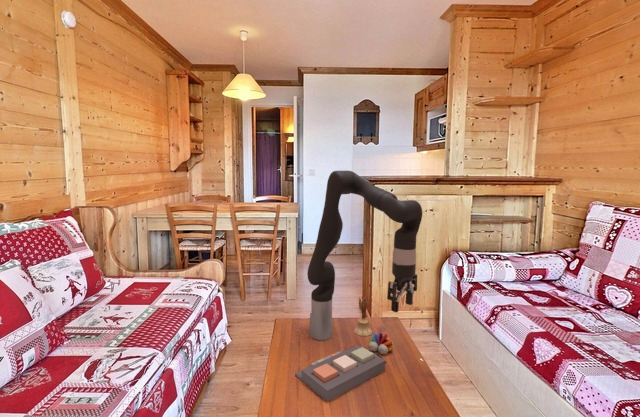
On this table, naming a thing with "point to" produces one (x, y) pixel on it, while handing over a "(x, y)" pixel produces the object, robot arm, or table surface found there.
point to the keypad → (341, 375)
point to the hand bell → (363, 322)
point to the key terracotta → (325, 373)
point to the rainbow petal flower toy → (380, 343)
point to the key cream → (344, 364)
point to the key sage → (362, 355)
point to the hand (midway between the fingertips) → (401, 307)
